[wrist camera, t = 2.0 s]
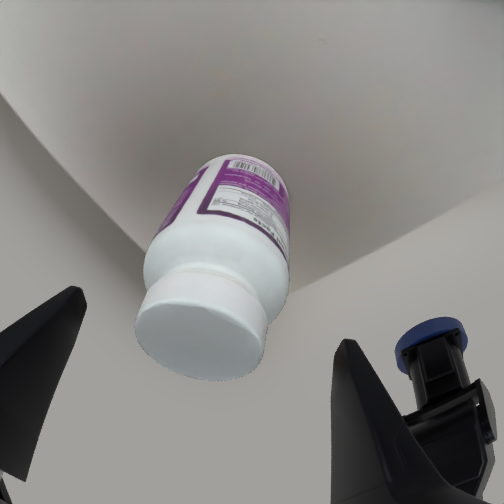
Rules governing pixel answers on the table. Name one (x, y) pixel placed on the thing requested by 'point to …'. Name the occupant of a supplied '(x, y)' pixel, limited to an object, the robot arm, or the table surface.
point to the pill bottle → (217, 271)
